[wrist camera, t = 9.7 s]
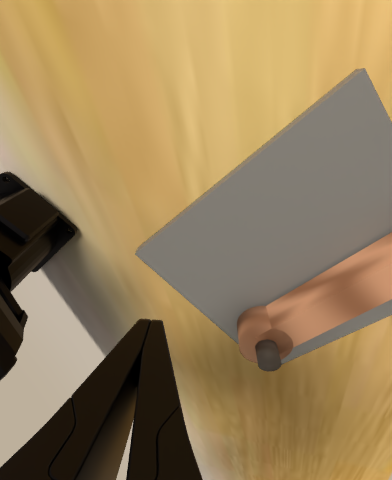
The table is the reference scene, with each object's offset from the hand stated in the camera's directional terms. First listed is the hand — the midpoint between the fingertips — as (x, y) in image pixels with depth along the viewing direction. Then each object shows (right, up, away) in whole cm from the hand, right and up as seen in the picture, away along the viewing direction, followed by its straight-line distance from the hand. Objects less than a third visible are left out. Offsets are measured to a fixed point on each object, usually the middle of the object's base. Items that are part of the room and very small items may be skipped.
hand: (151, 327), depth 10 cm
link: (+12, -1, +12) cm, 17 cm away
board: (+10, +2, +12) cm, 16 cm away
